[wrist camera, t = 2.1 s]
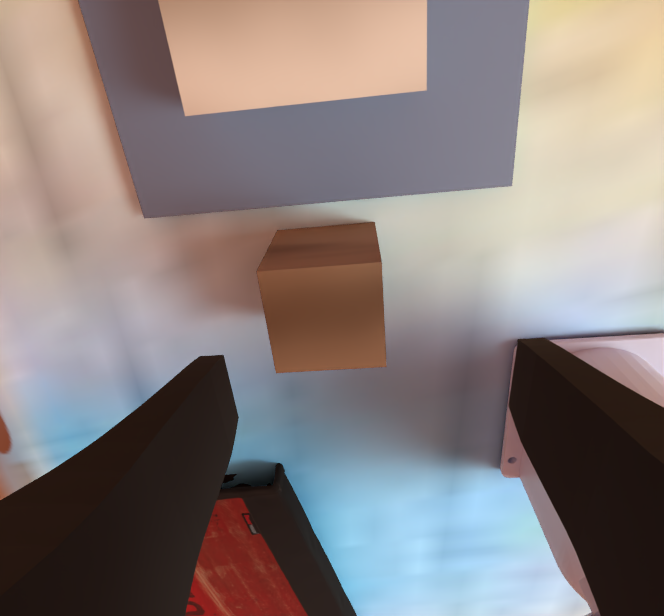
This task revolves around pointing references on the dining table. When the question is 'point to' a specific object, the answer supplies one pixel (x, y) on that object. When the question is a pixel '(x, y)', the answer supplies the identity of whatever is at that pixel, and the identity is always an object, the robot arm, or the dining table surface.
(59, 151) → the dining table surface
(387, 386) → the dining table surface
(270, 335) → the walnut block
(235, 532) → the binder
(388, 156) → the board
